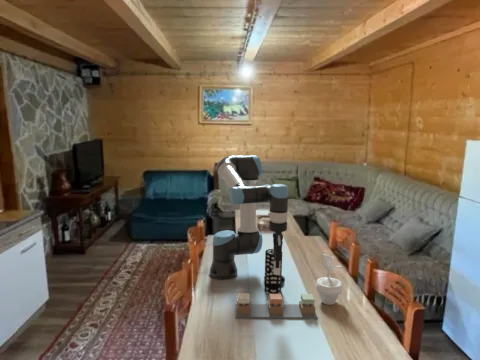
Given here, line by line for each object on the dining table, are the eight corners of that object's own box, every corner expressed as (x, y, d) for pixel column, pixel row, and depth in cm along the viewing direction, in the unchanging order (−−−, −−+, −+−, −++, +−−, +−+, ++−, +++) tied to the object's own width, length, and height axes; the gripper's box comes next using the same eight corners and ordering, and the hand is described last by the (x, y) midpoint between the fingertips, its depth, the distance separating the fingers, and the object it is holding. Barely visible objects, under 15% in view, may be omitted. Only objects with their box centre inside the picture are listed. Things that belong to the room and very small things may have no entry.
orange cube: (269, 304, 164) (269, 293, 163) (280, 304, 164) (280, 293, 163) (270, 310, 159) (270, 299, 158) (281, 310, 159) (282, 299, 158)
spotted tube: (271, 284, 188) (272, 247, 185) (284, 290, 182) (285, 252, 179) (260, 289, 183) (261, 251, 179) (273, 295, 177) (274, 256, 173)
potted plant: (310, 298, 175) (313, 248, 170) (330, 294, 179) (333, 245, 175) (326, 311, 163) (329, 257, 159) (347, 306, 168) (351, 254, 164)
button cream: (237, 304, 164) (238, 293, 163) (249, 304, 164) (249, 293, 163) (238, 310, 159) (238, 299, 158) (249, 310, 159) (249, 299, 158)
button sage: (300, 304, 164) (300, 293, 163) (311, 304, 164) (312, 294, 163) (302, 310, 159) (303, 299, 158) (314, 310, 159) (314, 299, 158)
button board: (235, 305, 167) (235, 297, 166) (312, 306, 168) (312, 298, 167) (235, 318, 156) (235, 310, 155) (317, 319, 157) (318, 310, 156)
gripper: (268, 216, 161) (266, 268, 165) (270, 225, 148) (269, 280, 152) (285, 217, 161) (283, 268, 165) (289, 225, 149) (287, 280, 152)
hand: (276, 273), depth 159 cm, fingers closed
